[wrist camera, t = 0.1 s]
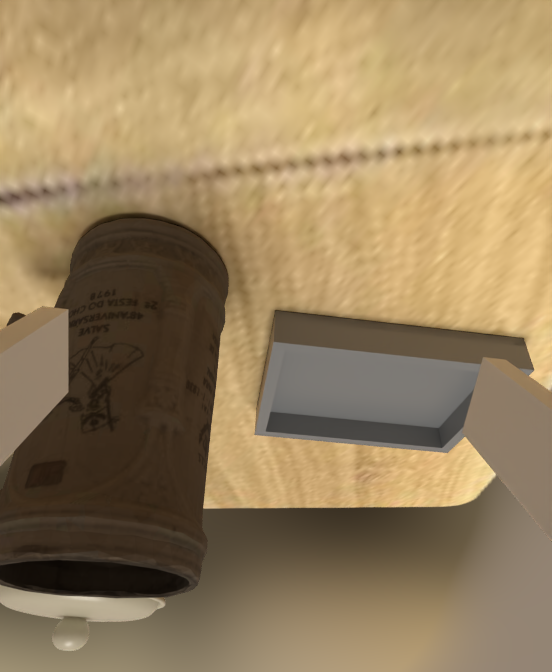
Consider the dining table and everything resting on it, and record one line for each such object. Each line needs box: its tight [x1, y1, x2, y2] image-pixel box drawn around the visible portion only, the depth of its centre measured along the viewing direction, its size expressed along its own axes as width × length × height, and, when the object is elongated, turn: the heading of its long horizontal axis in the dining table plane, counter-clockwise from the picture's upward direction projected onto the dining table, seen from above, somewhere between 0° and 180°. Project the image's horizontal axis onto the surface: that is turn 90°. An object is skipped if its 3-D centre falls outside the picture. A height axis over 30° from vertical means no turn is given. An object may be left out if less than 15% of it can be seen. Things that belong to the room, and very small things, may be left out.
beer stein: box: [0, 218, 228, 598], centre depth 28 cm, size 15×11×20 cm
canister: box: [0, 585, 166, 651], centre depth 54 cm, size 18×18×21 cm
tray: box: [255, 310, 534, 453], centre depth 42 cm, size 16×20×3 cm
